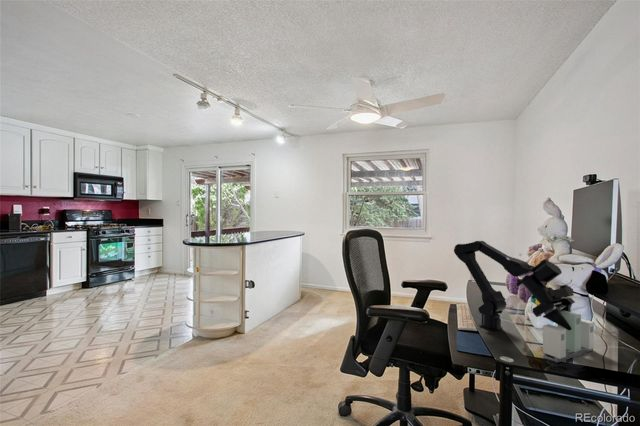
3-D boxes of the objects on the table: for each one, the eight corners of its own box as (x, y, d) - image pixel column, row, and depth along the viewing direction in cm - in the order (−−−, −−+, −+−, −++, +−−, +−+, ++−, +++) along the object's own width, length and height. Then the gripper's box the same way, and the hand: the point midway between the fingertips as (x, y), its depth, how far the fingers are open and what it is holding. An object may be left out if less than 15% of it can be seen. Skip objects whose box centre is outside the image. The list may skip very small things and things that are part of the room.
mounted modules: (542, 352, 102) (542, 325, 102) (577, 342, 112) (577, 317, 112) (559, 358, 98) (559, 330, 98) (594, 347, 107) (594, 322, 107)
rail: (543, 357, 102) (543, 353, 102) (579, 346, 111) (579, 342, 111) (557, 362, 98) (557, 358, 98) (593, 350, 108) (593, 346, 108)
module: (557, 346, 106) (557, 312, 106) (563, 344, 108) (563, 310, 108) (574, 352, 102) (574, 316, 102) (581, 349, 104) (581, 314, 104)
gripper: (542, 279, 104) (581, 321, 94) (568, 275, 113) (607, 313, 103) (518, 296, 111) (552, 337, 101) (544, 291, 120) (578, 328, 110)
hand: (573, 328), depth 104 cm, fingers closed on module, 4 cm apart
